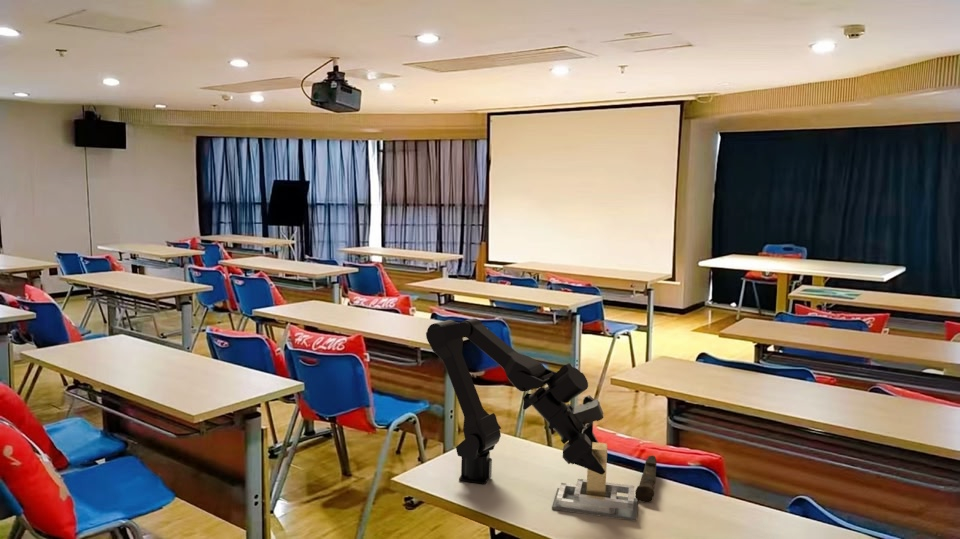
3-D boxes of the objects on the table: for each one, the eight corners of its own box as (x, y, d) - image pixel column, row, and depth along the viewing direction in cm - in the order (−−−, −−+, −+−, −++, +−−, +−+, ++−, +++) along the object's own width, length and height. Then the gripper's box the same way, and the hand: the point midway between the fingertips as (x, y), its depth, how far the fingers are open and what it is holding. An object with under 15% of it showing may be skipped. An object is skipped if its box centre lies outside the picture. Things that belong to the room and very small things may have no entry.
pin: (586, 505, 146) (588, 448, 144) (586, 497, 150) (588, 441, 148) (604, 507, 145) (607, 450, 144) (604, 499, 149) (606, 443, 147)
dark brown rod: (652, 505, 149) (654, 485, 148) (634, 501, 150) (636, 481, 149) (663, 472, 166) (664, 455, 165) (646, 469, 167) (648, 452, 167)
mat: (551, 509, 145) (551, 506, 145) (557, 490, 154) (557, 487, 154) (636, 521, 141) (636, 518, 141) (637, 501, 150) (637, 498, 150)
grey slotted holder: (555, 506, 145) (556, 493, 145) (560, 488, 154) (561, 476, 153) (632, 517, 141) (633, 503, 141) (633, 498, 150) (634, 485, 149)
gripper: (581, 401, 136) (633, 458, 135) (583, 376, 154) (629, 427, 153) (541, 435, 138) (592, 491, 138) (548, 406, 156) (593, 456, 156)
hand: (603, 464), depth 146 cm, fingers open, 9 cm apart
